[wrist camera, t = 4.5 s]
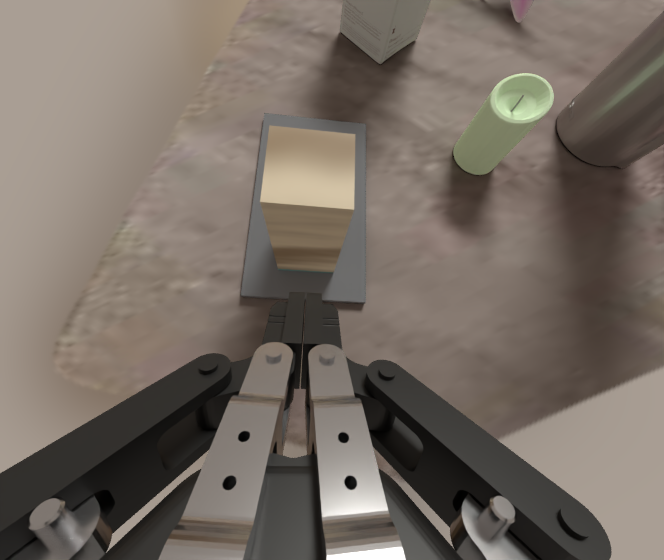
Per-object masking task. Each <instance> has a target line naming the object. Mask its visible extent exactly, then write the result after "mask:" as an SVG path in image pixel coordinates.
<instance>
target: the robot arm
mask: <svg viewBox="0 0 664 560" xmlns="http://www.w3.org/2000/svg"><path fill="white" fill-rule="evenodd" d="M557 131H558V134H559V137H560V139H561V140H562V142H563V144H564V145H565V146H566V147H567V149H568V150H569V151H571V152H572V153H573V154H574V155H575V156H577V157H578V158H580V159H581V160H583V161H585V162H588V163H590V164H593V165H597V166H617V167H619V168H622V169H624V168H626V167H627V166H629V165H630V164H632V163H634V162H635V161H637V160H639V159H640V158H642V157H643V156H645V155H647V154H648V153H650V152H652V151H653V150H655V149H657V148H658V147H660V146H661V145H663V144H664V11H663V12H662V13H661V14H660V15H659V16H658V17H657V18H656V19H655V20H654V21H653V22H652V23H651V24H650V25H649V26H648V27H647V28H646V29H645V30H644V31H643V32H642V33H641V34H640V35H639V36H638V37H637V38H635V39H634V40H633V41H632V42H631V43H630V44H629V45H628V46H627V47H626V48H625V49H624V50H623V51H622V52H621V53H620V54H619V55H618V56H617V57H616V58H615V59H614V60H613V61H612V62H611V63H610V64H609V65H608V66H607V67H606V68H605V69H604V70H603V71H602V72H601V73H600V74H599V75H598V76H597V77H596V78H595V79H594V80H593V81H592V82H591V83H590V84H589V85H588V86H587V87H586V88H585V89H584V90H583V91H582V92H581V93H579V94H578V95H577V96H576V97H575V98H574V99H573V100H572V101H571V102H570V103H569V104H568V105H567V106H566V107H565V108H564V109H563V110H562V111H561V113H560V114H559V116H558V118H557ZM304 306H305V292H289V298H288V302H277V303H276V304H275V305H274V306H273V307H272V308H271V311H270V315H269V319H268V323H267V327H266V331H265V335H264V339H263V343H262V346H260V347H259V348H258V349H257V350H256V351H255V353H254V356H252V357H250V358H248V359H245V360H241V361H236V362H231V363H230V360H229V359H228V358H227V357H226V356H224V355H222V354H216V353H213V354H206V355H203V356H200V357H198V358H196V359H195V360H193V361H191V362H189V363H188V364H186V365H184V366H183V367H181V368H179V369H177V370H176V371H174V372H172V373H171V374H169V375H167V376H166V377H164V378H162V379H160V380H159V381H157V382H155V383H154V384H152V385H150V386H149V387H147V388H145V389H143V390H142V391H140V392H138V393H137V394H135V395H133V396H131V397H130V398H128V399H126V400H125V401H123V402H121V403H120V404H118V405H116V406H114V407H113V408H111V409H109V410H108V411H106V412H104V413H103V414H101V415H99V416H97V417H96V418H94V419H92V420H91V421H89V422H87V423H86V424H84V425H82V426H80V427H79V428H77V429H75V430H74V431H72V432H70V433H68V434H67V435H65V436H63V437H62V438H60V439H58V440H56V441H55V442H53V443H52V444H50V445H48V446H46V447H45V448H43V449H41V450H39V451H38V452H36V453H34V454H33V455H31V456H29V457H27V458H26V459H24V460H23V461H21V462H19V463H17V464H16V465H14V466H12V467H11V468H9V469H7V470H5V471H4V472H2V473H0V560H609V559H610V557H611V546H610V541H609V539H608V536H607V534H606V532H605V530H604V529H603V527H602V526H601V524H600V523H599V521H598V520H597V519H596V518H595V517H594V515H593V514H592V513H591V512H590V511H589V510H588V509H587V508H586V507H585V506H583V505H582V504H581V503H580V502H578V501H577V500H576V499H575V498H573V497H572V496H571V495H569V494H568V493H567V492H565V491H564V490H562V489H561V488H560V487H559V486H557V485H556V484H555V483H553V482H552V481H551V480H549V479H548V478H546V477H545V476H544V475H543V474H541V473H540V472H539V471H537V470H536V469H535V468H534V467H532V466H531V465H530V464H528V463H527V462H526V461H524V460H523V459H521V458H520V457H519V456H518V455H516V454H515V453H514V452H512V451H511V450H510V449H508V448H507V447H506V446H504V445H503V444H502V443H500V442H499V441H498V440H496V439H495V438H494V437H493V436H491V435H490V434H489V433H487V432H486V431H485V430H483V429H482V428H481V427H479V426H478V425H477V424H475V423H474V422H473V421H471V420H470V419H469V418H467V417H466V416H465V415H463V414H462V413H461V412H459V411H458V410H457V409H455V408H454V407H453V406H452V405H450V404H449V403H448V402H446V401H445V400H444V399H442V398H441V397H440V396H438V395H437V394H436V393H434V392H433V391H432V390H430V389H429V388H428V387H426V386H425V385H424V384H422V383H421V382H420V381H418V380H417V379H416V378H414V377H413V376H412V375H411V374H409V373H408V372H407V371H405V370H404V369H403V368H401V367H400V366H399V365H397V364H395V363H393V362H391V361H387V360H377V361H374V362H372V363H371V364H370V365H369V366H368V367H367V366H363V365H360V364H357V363H355V362H352V361H351V360H349V359H348V358H347V357H346V356H345V353H344V352H343V351H342V345H341V336H340V326H339V317H338V311H337V309H336V308H335V307H334V306H333V304H322V293H307V294H306V310H305V326H304V342H303V359H302V378H301V389H306V398H305V422H306V445H307V455H306V456H302V457H298V458H289V457H286V456H283V450H284V444H285V439H286V433H287V427H288V422H289V416H290V411H291V402H292V400H293V394H294V389H299V384H300V369H301V355H302V340H303V324H304ZM373 447H374V448H375V449H376V450H377V451H378V452H379V453H380V454H381V455H382V456H383V457H384V459H385V460H386V461H387V462H388V463H389V464H390V465H391V466H392V467H393V468H394V469H395V470H396V471H397V472H398V473H399V474H400V475H401V477H402V478H403V479H404V480H405V481H406V482H407V483H408V484H409V485H410V486H411V487H412V488H413V489H414V490H415V491H416V492H417V493H418V494H419V496H421V498H422V499H423V500H424V501H425V502H426V503H427V504H428V505H429V506H430V507H431V508H432V509H433V510H434V511H435V513H436V514H437V515H438V516H439V517H440V518H441V519H442V520H443V521H444V522H445V523H446V524H447V525H448V526H449V527H450V536H451V541H452V544H453V547H454V549H455V550H454V549H453V547H452V546H451V545H450V544H449V543H448V542H447V541H446V540H445V538H444V537H443V536H442V535H441V534H440V532H439V531H438V530H437V529H436V528H435V527H434V525H433V524H432V523H431V522H430V521H429V520H428V519H427V517H426V516H425V515H424V514H423V513H422V512H421V511H420V509H419V508H418V507H417V506H416V505H415V503H414V502H413V501H412V500H411V499H410V498H409V497H408V495H407V494H406V493H405V492H404V491H403V490H402V488H401V487H400V486H399V485H398V484H397V483H396V482H395V481H394V480H393V479H392V478H391V477H390V476H389V475H387V474H386V473H385V472H383V471H382V470H380V469H379V468H378V466H377V462H376V458H375V454H374V450H373ZM208 450H209V452H208V454H207V457H206V459H205V462H204V464H203V467H202V469H200V470H198V471H197V472H195V473H194V474H192V475H190V476H189V477H188V478H187V479H186V480H184V481H183V482H181V483H180V484H179V485H178V486H177V487H176V488H175V489H174V490H173V491H172V492H171V493H169V495H167V496H166V497H165V498H164V499H163V500H162V501H161V502H160V503H159V504H158V505H157V506H156V507H155V508H154V509H153V510H152V511H150V512H149V513H148V514H147V515H146V516H145V517H144V518H143V519H142V520H141V521H140V522H139V523H138V524H137V525H136V526H134V527H133V528H132V529H131V530H130V531H129V532H128V533H127V534H126V535H125V536H124V537H123V538H122V539H121V540H120V541H118V542H117V544H115V545H114V546H113V547H112V548H111V549H110V550H109V551H108V552H107V553H106V551H107V550H108V548H109V544H110V542H111V538H112V534H113V533H114V532H115V531H116V530H117V529H118V528H119V527H120V526H122V525H123V524H124V523H125V522H126V521H127V520H129V519H130V518H131V517H132V516H133V515H134V514H135V513H137V512H138V511H139V510H140V509H141V508H142V507H143V506H145V505H146V504H147V503H148V502H149V501H150V500H151V499H153V498H154V497H155V496H156V495H157V494H158V493H160V492H161V491H162V490H163V489H164V488H165V487H166V486H168V485H169V484H170V483H171V482H172V481H173V480H174V479H176V478H177V477H178V476H179V475H180V474H181V473H182V472H184V471H185V470H186V469H187V468H188V467H189V466H191V465H192V464H193V463H194V462H195V461H196V460H197V459H199V458H200V457H201V456H202V455H203V454H204V453H205V452H207V451H208Z"/></svg>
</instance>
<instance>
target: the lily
mask: <svg viewBox="0 0 664 560" xmlns="http://www.w3.org/2000/svg"><path fill="white" fill-rule="evenodd" d="M533 1H534V0H510V3H511V7H512V11H513V15H514V18H515V21H517V22H519V23H520V22H521V21H522V20H523V18H524V17H525V15H526V14H527V12H528V10H529V9H530V7H531V5H532V3H533Z"/></svg>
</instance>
